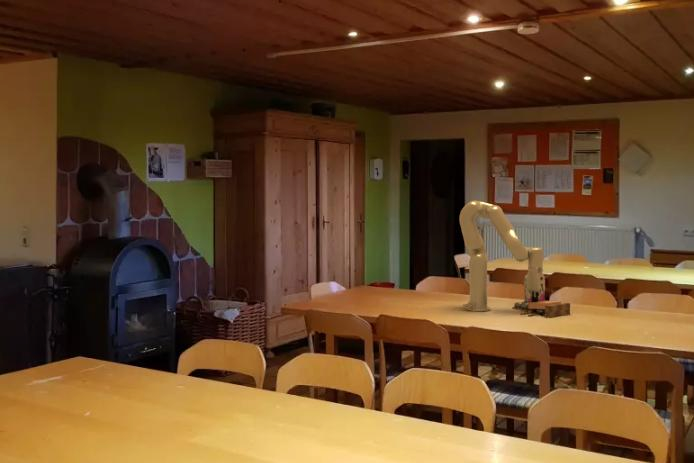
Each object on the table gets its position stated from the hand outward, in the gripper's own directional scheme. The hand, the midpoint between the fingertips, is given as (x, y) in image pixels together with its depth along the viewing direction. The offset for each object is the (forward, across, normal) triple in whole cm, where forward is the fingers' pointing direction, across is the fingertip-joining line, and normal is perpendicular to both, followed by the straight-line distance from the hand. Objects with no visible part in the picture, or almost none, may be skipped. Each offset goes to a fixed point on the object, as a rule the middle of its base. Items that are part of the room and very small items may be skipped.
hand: (534, 303), depth 387 cm
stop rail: (+4, -16, 0) cm, 17 cm away
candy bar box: (+4, +15, -14) cm, 21 cm away
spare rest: (+4, -6, +11) cm, 13 cm away
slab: (+1, -8, +1) cm, 9 cm away
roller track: (+4, +1, 0) cm, 4 cm away
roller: (+4, -6, 0) cm, 7 cm away
